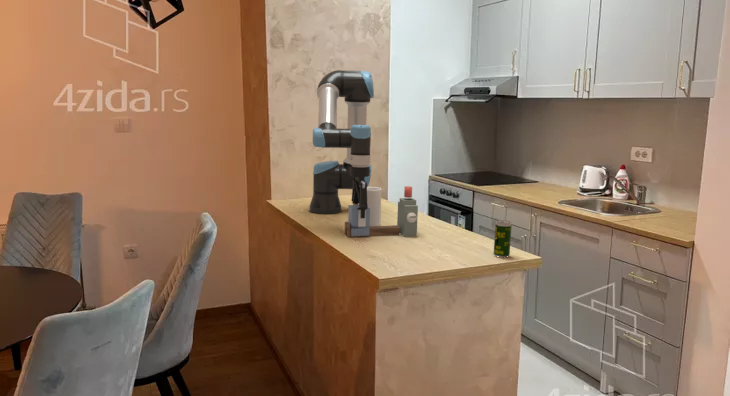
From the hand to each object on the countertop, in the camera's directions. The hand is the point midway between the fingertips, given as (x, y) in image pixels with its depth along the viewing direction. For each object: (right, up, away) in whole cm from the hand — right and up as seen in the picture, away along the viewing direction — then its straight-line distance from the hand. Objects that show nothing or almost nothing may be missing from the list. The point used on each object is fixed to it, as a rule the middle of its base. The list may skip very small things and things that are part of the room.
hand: (358, 223), depth 216 cm
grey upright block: (+19, -4, +5) cm, 20 cm away
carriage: (0, -5, +1) cm, 5 cm away
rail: (+5, -5, +2) cm, 7 cm away
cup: (+5, -2, +17) cm, 17 cm away
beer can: (+49, -10, -24) cm, 56 cm away
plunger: (+19, +10, +3) cm, 22 cm away
